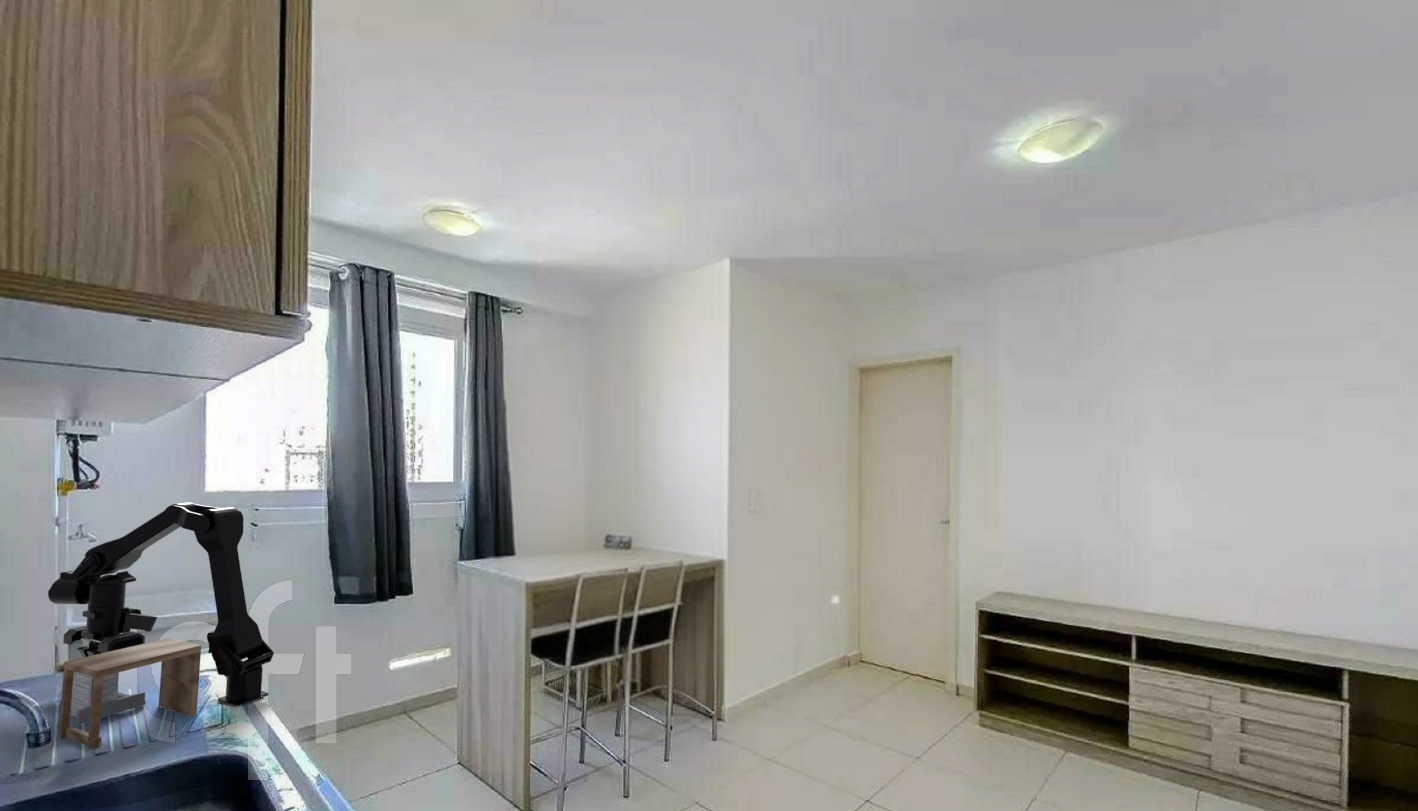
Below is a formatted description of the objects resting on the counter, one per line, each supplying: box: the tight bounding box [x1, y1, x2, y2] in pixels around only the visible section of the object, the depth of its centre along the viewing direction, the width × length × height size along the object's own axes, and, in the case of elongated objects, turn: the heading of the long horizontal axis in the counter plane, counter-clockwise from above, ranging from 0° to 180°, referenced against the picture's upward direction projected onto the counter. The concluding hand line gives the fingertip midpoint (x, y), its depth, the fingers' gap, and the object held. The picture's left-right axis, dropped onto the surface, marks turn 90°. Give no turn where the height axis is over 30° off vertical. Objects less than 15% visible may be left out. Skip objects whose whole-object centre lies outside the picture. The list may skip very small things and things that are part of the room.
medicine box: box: [70, 672, 120, 718], centre depth 123 cm, size 8×4×9 cm, turn 66°
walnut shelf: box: [58, 637, 202, 751], centre depth 118 cm, size 11×16×13 cm
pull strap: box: [75, 691, 146, 726], centre depth 127 cm, size 23×11×6 cm, turn 67°
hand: (101, 680), depth 133 cm, fingers closed
